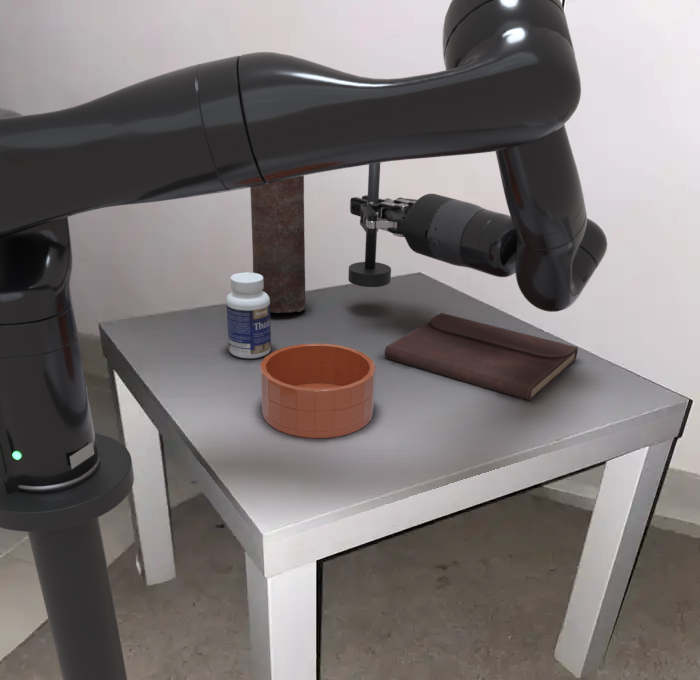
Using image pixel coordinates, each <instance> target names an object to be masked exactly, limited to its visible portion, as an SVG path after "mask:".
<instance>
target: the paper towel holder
mask: <svg viewBox="0 0 700 680" xmlns="http://www.w3.org/2000/svg"><path fill="white" fill-rule="evenodd" d="M367 176H368V177H367V178H368V179H367V195H368V201H374V202H376V203H378V202H379V198H380V181H381V163H374V164H368V175H367ZM376 212H378V210H377V209H376ZM377 241H378V232H376V234H375V235H369V234H367V233H366V232H365V249H364V251H365V253H364V261H359V262H353V263H351V264H350V265H348V282H349V283H350V284H352V285H355V286H358V287H364V288H380V287H385V286H388V285H389V284H390V283H391V279H392V278H391V277H392V267H391V266H390V265H388V264H385V263H382V262H378V261H376V260H377V259H376V258H377Z"/></svg>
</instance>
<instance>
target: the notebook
mask: <svg viewBox="0 0 700 680" xmlns="http://www.w3.org/2000/svg"><path fill="white" fill-rule="evenodd" d="M578 349H579V348H578V346H575V345H571V344H566V343H562V342H559V341H554V340H550V339H546V338H544V337H539V336H535V335H530V334H527V333H524V332H523V333H522V332H519V331H514V330H511V329H506V328H503V327H499V326H496V325H495V326H494V325H492V324H488V323H483V322H479V321H475V320H471V319H468V318H464V317H460V316H455V315H452V314H447V313H444V312H440V313H439V314H436V315H435V316H433V317H432V318H430V320H429V321H428V322H426V323H424V324H423V325H421V326H419V327H417V328H416V329H414V330H411V332H409V333H406V335H403V336H402V337H400V338H398V339H397V340H394V341H393V342H391V343H390V344H388V345H386V346H385V349H384V358H385V359H388V360H390V361H394V362H398V363H401V364H403V365H407V366H411V367H414V368H418V369H421V370H424V371H428V372H431V373H434V374H437V375H441V376H445V377H448V378H452V379H455V380H459V381H462V382H465V383H468V384H471V385H476V386H478V387H481V388H485V389H489V390H493V391H495V392H499V393H502V394H506V395H509V396H513V397H516V398H519V399H522V400H527V401H529V402H530V401H531V400H533V399H534V398H535V397H536V396H537V395H539V394H540V393H541V392H542V391H543V390H544V389H545V388H546V387H548V386H549V385H550V384H551V383H552V382H553V381H555V379H557V378H558V377H559V376H560V375H562V373H563V372H565V370H566V369H568V368H569V367H570V366H571V365H572V364H573V363H575V361H576V360H577V357H578V351H579V350H578Z"/></svg>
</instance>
